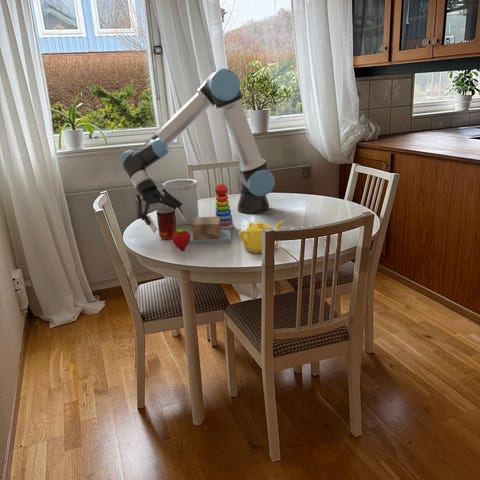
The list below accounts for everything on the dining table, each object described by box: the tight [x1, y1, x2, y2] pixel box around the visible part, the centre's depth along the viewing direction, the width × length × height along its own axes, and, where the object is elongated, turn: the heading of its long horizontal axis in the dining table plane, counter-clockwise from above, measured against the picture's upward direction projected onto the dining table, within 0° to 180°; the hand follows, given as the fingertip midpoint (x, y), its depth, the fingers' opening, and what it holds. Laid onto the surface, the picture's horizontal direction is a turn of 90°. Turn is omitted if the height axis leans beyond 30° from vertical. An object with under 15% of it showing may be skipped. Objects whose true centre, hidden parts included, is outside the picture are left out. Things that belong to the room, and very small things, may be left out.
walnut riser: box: [191, 215, 221, 240], centre depth 168 cm, size 10×10×6 cm
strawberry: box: [171, 225, 190, 252], centre depth 156 cm, size 6×8×10 cm
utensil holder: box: [162, 178, 200, 226], centre depth 193 cm, size 15×15×18 cm
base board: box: [187, 229, 232, 246], centre depth 170 cm, size 18×12×2 cm, turn 90°
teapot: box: [238, 219, 285, 254], centre depth 155 cm, size 14×13×10 cm
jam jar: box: [156, 206, 178, 241], centre depth 171 cm, size 7×7×12 cm
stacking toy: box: [214, 183, 235, 230], centre depth 179 cm, size 8×8×19 cm
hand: (170, 226), depth 170 cm, fingers open, 13 cm apart
